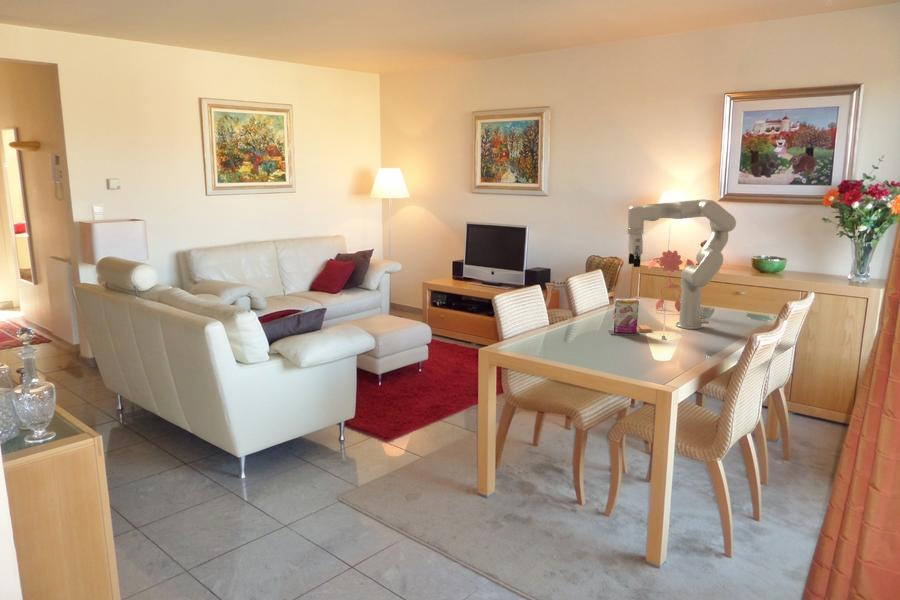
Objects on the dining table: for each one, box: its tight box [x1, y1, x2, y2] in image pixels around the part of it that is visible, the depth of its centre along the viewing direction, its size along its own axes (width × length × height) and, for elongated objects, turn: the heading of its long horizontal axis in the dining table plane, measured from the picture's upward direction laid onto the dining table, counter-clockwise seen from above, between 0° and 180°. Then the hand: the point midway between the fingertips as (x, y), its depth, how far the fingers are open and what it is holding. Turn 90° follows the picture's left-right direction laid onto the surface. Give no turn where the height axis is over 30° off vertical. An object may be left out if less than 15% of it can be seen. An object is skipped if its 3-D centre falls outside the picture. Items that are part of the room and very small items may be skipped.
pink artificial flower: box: [647, 249, 695, 316], centre depth 368 cm, size 15×26×35 cm, turn 56°
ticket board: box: [637, 324, 652, 333], centre depth 330 cm, size 6×8×2 cm
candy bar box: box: [612, 298, 639, 333], centre depth 322 cm, size 11×5×16 cm, turn 85°
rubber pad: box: [608, 329, 641, 336], centre depth 324 cm, size 14×7×1 cm, turn 87°
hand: (634, 265), depth 330 cm, fingers open, 9 cm apart
